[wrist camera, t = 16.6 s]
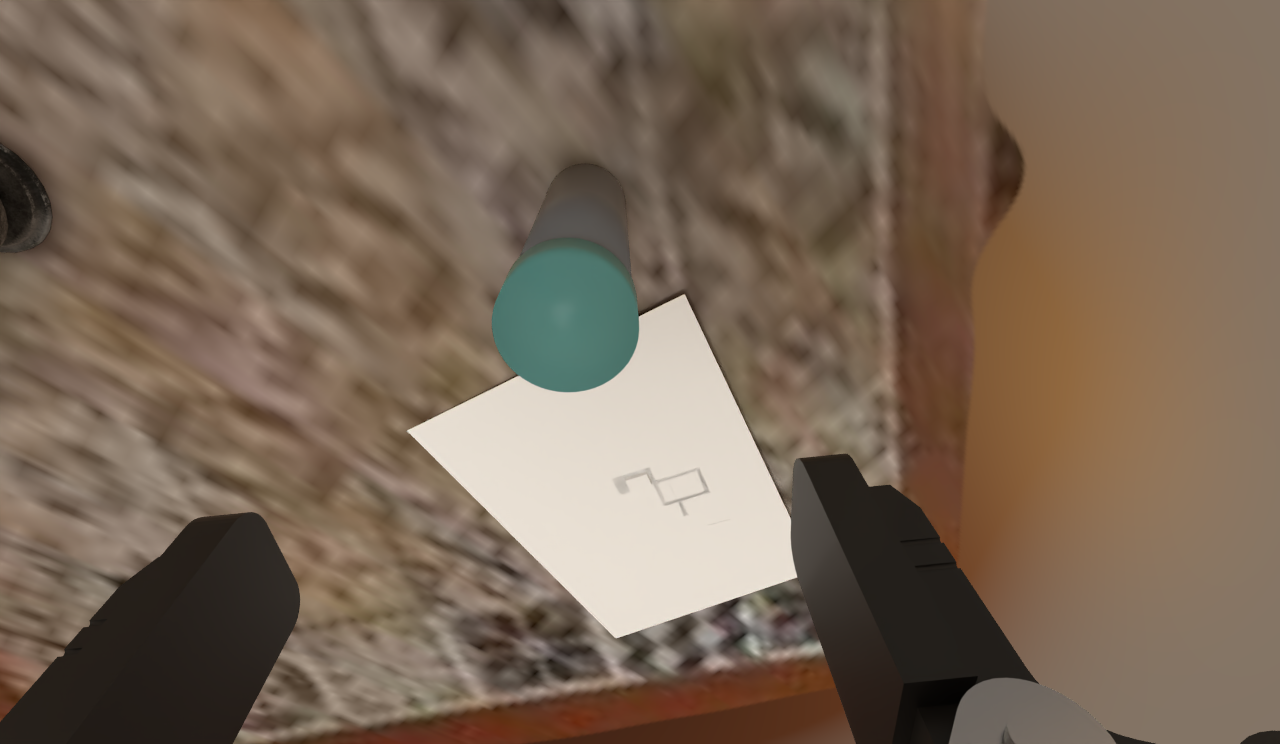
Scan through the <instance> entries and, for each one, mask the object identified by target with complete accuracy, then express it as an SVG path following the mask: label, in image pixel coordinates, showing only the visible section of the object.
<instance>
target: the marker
mask: <svg viewBox="0 0 1280 744" xmlns="http://www.w3.org/2000/svg"><path fill="white" fill-rule="evenodd" d="M492 330H493V337H494V340H495V343H496V346H497V348H498V350H499V353H500V354H501V356H502V357H503V359H504V361H505V362H506V363H507V364H508V366H509V367H510V368H511V369H512V370H513V371H514V372H515V373H516V374H518V375H519V376H520V377H522V378H523V379H525V380H526V381H528V382H530V383H531V384H534V385H536V386H538V387H541V388H544V389H547V390H551V391H557V392H580V391H586V390H590V389H593V388H596V387H598V386H601V385H603V384H605V383H606V382H608V381H610V380H611V379H613V378H614V377H615V376H617V375H618V374H619V373H620V372H621V371H622V370H623V369H624V368H625V366H626V365H627V364H628V363H629V361H630V359H631V358H632V356H633V354H634V351H635V349H636V346H637V342H638V337H639V316H638V306H637V296H636V290H635V286H634V283H633V280H632V277H631V265H630V252H629V240H628V228H627V216H626V203H625V196H624V193H623V190H622V187H621V185H620V184H619V182H618V181H617V179H616V178H615V177H614V176H613V175H612V174H611V173H610V172H608V171H607V170H605V169H603V168H601V167H599V166H596V165H592V164H578V165H574V166H571V167H569V168H566V169H565V170H563V171H562V172H561V173H559V174H558V175H557V176H556V178H555V179H554V180H553V182H552V183H551V185H550V188H549V190H548V192H547V194H546V197H545V199H544V201H543V204H542V206H541V208H540V211H539V213H538V215H537V218H536V220H535V222H534V224H533V227H532V229H531V231H530V234H529V236H528V238H527V241H526V243H525V245H524V248H523V250H522V252H521V254H520V257H519V258H518V259H517V261H516V262H515V263H514V264H513V266H512V268H511V269H510V271H509V273H508V275H507V277H506V280H505V282H504V284H503V286H502V289H501V291H500V293H499V295H498V297H497V300H496V302H495V306H494V309H493V315H492Z"/></svg>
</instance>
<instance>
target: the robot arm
mask: <svg viewBox="0 0 1280 744" xmlns="http://www.w3.org/2000/svg"><path fill="white" fill-rule="evenodd" d="M791 549H792V556H793V561H794V566H795V570H796V574H797V577H798V580H799V583H800V586H801V589H802V592H803V594H804V597H805V600H806V603H807V606H808V609H809V611H810V614H811V617H812V620H813V623H814V626H815V629H816V631H817V634H818V637H819V640H820V643H821V646H822V648H823V651H824V654H825V657H826V660H827V663H828V665H829V668H830V671H831V674H832V677H833V680H834V682H835V685H836V688H837V691H838V694H839V697H840V700H841V702H842V705H843V708H844V711H845V714H846V717H847V719H848V722H849V725H850V728H851V731H852V733H853V736H854V739H855V742H856V744H1155V743H1150V742H1145V741H1141V740H1136V739H1132V738H1129V737H1125V736H1121V735H1118V734H1116V733H1113V732H1111V731H1108V730H1106V729H1105V728H1104V727H1103V726H1102V725H1101V724H1100V723H1099V722H1098V721H1097V720H1096V719H1095V718H1094V717H1093V716H1092V715H1091V714H1089V712H1087V711H1086V710H1085V709H1083V708H1082V707H1081V706H1079V705H1078V704H1077V703H1075V702H1074V701H1072V700H1071V699H1069V698H1067V697H1066V696H1064V695H1063V694H1061V693H1059V692H1056V691H1055V690H1052V689H1050V688H1048V687H1046V686H1043V685H1040V684H1039V683H1038V682H1037V681H1036V680H1035V679H1034V677H1033V676H1032V675H1031V673H1030V672H1029V671H1028V669H1027V668H1026V667H1025V665H1024V663H1023V662H1022V660H1021V659H1020V657H1019V656H1018V654H1017V653H1016V651H1015V650H1014V649H1013V647H1012V645H1011V644H1010V642H1009V641H1008V639H1007V638H1006V636H1005V635H1004V633H1003V632H1002V630H1001V629H1000V627H999V626H998V624H997V623H996V621H995V620H994V618H993V617H992V615H991V614H990V612H989V611H988V609H987V608H986V606H985V605H984V603H983V602H982V600H981V599H980V597H979V596H978V594H977V592H976V591H975V590H974V588H973V586H972V585H971V583H970V582H969V580H968V579H967V577H966V576H965V575H964V573H963V572H962V570H961V568H957V566H956V561H955V559H954V558H953V556H952V555H951V553H950V552H949V550H948V549H947V547H946V546H945V544H944V543H941V542H940V537H939V535H938V534H937V532H936V531H935V529H934V528H933V526H932V525H931V523H930V522H929V520H928V519H927V517H926V516H925V514H924V513H923V511H922V509H921V508H920V507H919V506H917V505H916V504H915V503H913V502H912V501H911V500H909V499H908V498H907V497H905V496H904V495H903V494H901V493H900V492H899V491H897V490H896V489H895V488H893V487H892V486H891V485H883V486H873V487H868V485H867V483H866V481H865V480H864V478H863V476H862V474H861V473H860V471H859V469H858V468H857V466H856V464H855V462H854V461H853V459H852V458H851V457H850V456H849V455H848V454H837V455H827V456H817V457H807V458H798V459H796V460H795V463H794V468H793V488H792V512H791ZM299 607H300V593H299V588H298V584H297V582H296V580H295V578H294V576H293V574H292V572H291V570H290V568H289V566H288V564H287V562H286V560H285V558H284V556H283V554H282V552H281V550H280V549H279V547H278V545H277V543H276V541H275V539H274V537H273V535H272V533H271V531H270V529H269V527H268V525H267V523H266V522H265V520H264V519H263V518H262V517H261V516H260V515H259V514H257V513H253V512H248V513H238V514H228V515H219V516H209V517H201V518H197V519H195V520H193V521H192V522H190V523H189V524H188V525H187V526H186V527H185V528H184V529H183V531H182V532H181V533H180V534H179V535H178V536H177V538H176V539H175V540H174V541H173V542H172V544H171V545H170V546H169V547H168V548H167V549H166V551H165V552H164V553H163V554H162V555H161V556H160V557H158V558H157V559H155V560H154V561H153V562H151V563H150V564H149V565H147V566H146V567H145V568H143V569H142V570H141V571H139V572H138V573H137V574H136V575H134V576H133V577H132V578H130V579H129V580H128V581H126V582H125V583H124V584H122V585H121V586H120V587H119V588H118V589H117V590H116V591H115V592H114V593H113V595H112V596H111V597H110V598H109V599H108V600H107V601H106V603H105V604H104V605H103V606H102V607H101V608H100V609H99V610H98V612H97V613H96V614H95V615H94V616H93V617H92V618H91V620H90V626H89V627H84V628H83V629H82V630H81V631H80V632H79V633H78V634H77V635H76V637H75V638H74V639H73V640H72V641H71V642H70V643H69V645H68V646H67V647H66V648H65V649H64V650H65V654H64V656H62V657H57V658H56V659H55V660H54V662H53V663H52V664H51V665H50V666H49V667H48V668H47V670H46V671H45V672H44V673H43V674H42V675H41V676H40V678H39V679H38V680H37V681H36V682H35V683H34V684H33V685H32V687H31V688H30V689H29V690H28V691H27V692H26V693H25V695H24V696H23V697H22V698H21V699H20V700H19V701H18V703H17V704H16V705H15V706H14V707H13V708H12V709H11V710H10V712H9V713H8V714H7V715H6V716H5V717H4V718H3V720H2V721H1V722H0V744H233V742H234V740H235V738H236V736H237V734H238V733H239V731H240V729H241V727H242V725H243V723H244V721H245V719H246V717H247V715H248V714H249V712H250V710H251V708H252V706H253V704H254V702H255V700H256V698H257V696H258V695H259V693H260V691H261V689H262V687H263V685H264V683H265V681H266V679H267V677H268V676H269V674H270V672H271V670H272V668H273V666H274V664H275V662H276V660H277V658H278V656H279V655H280V653H281V651H282V649H283V647H284V645H285V643H286V641H287V639H288V637H289V636H290V634H291V632H292V630H293V628H294V626H295V624H296V621H297V618H298V613H299ZM1241 744H1280V731H1266V732H1259V733H1257V734H1254V735H1251V736H1249V737H1248V738H1246V739H1245V740H1244V741H1243V742H1241Z"/></svg>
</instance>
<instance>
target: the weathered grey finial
mask: <svg viewBox="0 0 1280 744" xmlns="http://www.w3.org/2000/svg"><path fill="white" fill-rule="evenodd" d="M51 222H52V212H51V205H50V201H49V199H48V196H47V194H46V191H45V189H44V187H43V185H42V184H41V182H40V181H39V179H38V178H37V177H36V175H35V174H34V172H33V171H32V170H31V169H30V168H29V167H28V166H27V165H26V164H25V163H24V162H23V161H22V160H21V159H20V158H19V157H18V156H17V155H16V154H15V153H13V152H12V151H10V150H9V149H7V148H6V147H5V146H3V145H2V144H0V252H21V251H25V250H28V249H32V248H34V247H35V246H37V245H38V244H40V243H41V242H42V241H44V239H45V238H46V236H47V234H48V233H49V231H50V228H51Z"/></svg>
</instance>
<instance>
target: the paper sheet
mask: <svg viewBox="0 0 1280 744" xmlns="http://www.w3.org/2000/svg"><path fill="white" fill-rule="evenodd" d="M407 431H408V432H409V433H410V434H411V435H412V436H413V437H414V438H415V439H416V440H417V441H418V442H419V443H420V444H421V445H422V446H423V447H424V448H425V449H426V450H427V451H428V452H429V453H430V454H431V455H432V456H433V457H434V458H435V459H436V460H437V461H438V462H439V463H440V464H441V465H442V466H443V467H444V468H445V469H446V470H447V471H448V472H449V473H450V474H451V475H452V476H453V477H454V478H455V479H456V480H457V481H458V482H459V483H460V484H461V485H462V486H463V487H464V488H465V489H466V490H467V491H468V492H469V493H470V494H471V495H472V496H473V497H474V498H475V499H476V500H477V501H478V502H479V503H480V504H481V505H482V506H483V507H484V508H485V509H486V510H487V511H488V512H489V513H490V514H491V515H492V516H493V517H494V518H495V519H496V520H497V521H498V522H499V523H500V524H501V525H502V526H503V527H504V528H505V529H506V530H507V531H508V532H509V533H510V534H511V535H512V536H513V537H514V538H515V539H516V540H517V541H518V542H519V543H520V544H521V545H522V546H523V547H524V548H525V549H526V550H527V551H528V552H529V553H530V554H531V555H532V556H533V557H534V558H535V559H536V560H537V561H538V562H540V563H541V564H542V565H543V566H544V567H545V568H546V569H547V570H548V571H549V572H550V573H551V574H552V575H553V576H554V577H555V578H556V579H557V580H558V581H559V582H560V583H561V584H562V585H563V586H564V587H565V588H566V589H567V590H568V591H569V592H570V593H571V594H572V595H573V596H574V597H575V598H576V599H577V600H578V601H579V602H580V603H581V604H582V605H583V606H584V607H585V608H586V609H587V610H588V611H589V612H590V613H591V614H592V615H593V616H594V617H595V618H596V619H597V620H598V621H599V622H600V623H601V624H602V625H603V626H604V627H605V628H606V629H607V630H608V631H609V632H610V633H611V634H612V635H613V636H614V637H615V638H619V637H622V636H625V635H627V634H630V633H633V632H636V631H639V630H642V629H645V628H648V627H651V626H654V625H657V624H660V623H663V622H666V621H669V620H672V619H675V618H678V617H681V616H684V615H687V614H690V613H693V612H696V611H699V610H702V609H705V608H707V607H710V606H713V605H716V604H719V603H722V602H725V601H728V600H731V599H734V598H737V597H740V596H743V595H746V594H749V593H752V592H755V591H758V590H761V589H764V588H767V587H770V586H773V585H776V584H779V583H782V582H785V581H787V580H790V579H793V578H796V577H797V574H796V570H795V566H794V561H793V556H792V549H791V518H790V516H789V514H788V512H787V510H786V508H785V505H784V503H783V501H782V499H781V497H780V495H779V493H778V491H777V489H776V486H775V484H774V482H773V480H772V478H771V476H770V474H769V472H768V469H767V467H766V465H765V463H764V461H763V459H762V457H761V455H760V453H759V450H758V448H757V446H756V444H755V442H754V440H753V438H752V436H751V433H750V431H749V429H748V427H747V425H746V423H745V421H744V419H743V417H742V414H741V412H740V410H739V408H738V406H737V404H736V402H735V400H734V398H733V395H732V393H731V391H730V389H729V387H728V385H727V383H726V381H725V378H724V376H723V374H722V372H721V370H720V368H719V366H718V364H717V362H716V359H715V357H714V355H713V353H712V351H711V349H710V347H709V345H708V342H707V340H706V338H705V336H704V334H703V332H702V330H701V328H700V326H699V323H698V321H697V319H696V317H695V315H694V313H693V311H692V309H691V306H690V304H689V302H688V300H687V298H686V296H685V294H683V295H681V296H679V297H677V298H675V299H673V300H671V301H669V302H667V303H665V304H663V305H661V306H659V307H657V308H655V309H653V310H651V311H649V312H647V313H645V314H643V315H641V316H639V337H638V342H637V346H636V349H635V351H634V354H633V356H632V358H631V359H630V361H629V363H628V364H627V365H626V366H625V368H624V369H623V370H622V371H621V372H620V373H619V374H618V375H617V376H615V377H614V378H613V379H611V380H610V381H608V382H606V383H605V384H603V385H601V386H598V387H596V388H593V389H590V390H586V391H580V392H557V391H551V390H547V389H544V388H541V387H538V386H536V385H534V384H531V383H530V382H528V381H526V380H525V379H523V378H522V377H520V376H517V377H515V378H513V379H511V380H509V381H507V382H505V383H503V384H501V385H499V386H497V387H495V388H493V389H491V390H489V391H487V392H485V393H483V394H480V395H478V396H476V397H474V398H472V399H470V400H468V401H466V402H464V403H462V404H460V405H458V406H456V407H454V408H452V409H450V410H448V411H446V412H444V413H442V414H440V415H438V416H436V417H434V418H432V419H430V420H428V421H426V422H424V423H422V424H420V425H418V426H416V427H414V428H411V429H409V430H407Z"/></svg>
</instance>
